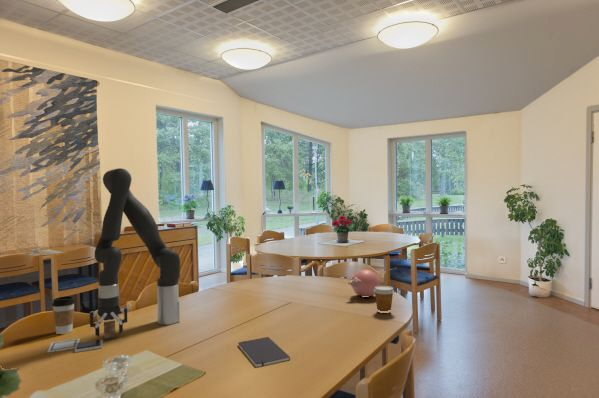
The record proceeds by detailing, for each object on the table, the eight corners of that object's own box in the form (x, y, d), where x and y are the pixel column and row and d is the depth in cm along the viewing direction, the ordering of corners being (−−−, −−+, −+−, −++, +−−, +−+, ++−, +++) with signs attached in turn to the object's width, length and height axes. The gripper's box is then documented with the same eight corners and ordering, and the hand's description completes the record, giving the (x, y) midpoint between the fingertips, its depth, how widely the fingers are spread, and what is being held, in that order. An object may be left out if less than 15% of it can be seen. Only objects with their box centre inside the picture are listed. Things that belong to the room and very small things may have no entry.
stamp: (115, 335, 161) (115, 320, 160) (115, 339, 157) (115, 323, 156) (104, 337, 159) (103, 321, 159) (103, 340, 155) (103, 325, 155)
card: (80, 339, 157) (80, 338, 157) (77, 348, 148) (77, 347, 148) (51, 343, 152) (51, 342, 152) (46, 352, 143) (46, 351, 143)
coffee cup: (49, 336, 159) (48, 301, 159) (56, 329, 168) (55, 295, 167) (72, 334, 162) (71, 299, 161) (78, 327, 170) (77, 294, 170)
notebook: (290, 361, 135) (268, 340, 155) (290, 356, 135) (268, 336, 154) (256, 368, 130) (237, 346, 149) (256, 364, 130) (237, 342, 149)
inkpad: (102, 342, 153) (102, 338, 153) (101, 348, 147) (101, 344, 147) (76, 346, 149) (76, 342, 149) (74, 352, 144) (74, 348, 144)
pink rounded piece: (339, 297, 215) (339, 269, 215) (367, 292, 225) (367, 266, 224) (356, 303, 202) (356, 274, 201) (385, 298, 211) (385, 270, 211)
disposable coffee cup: (392, 309, 192) (392, 285, 191) (395, 315, 182) (395, 290, 182) (373, 309, 193) (373, 285, 192) (375, 315, 183) (374, 290, 183)
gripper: (127, 290, 164) (128, 329, 164) (89, 294, 158) (90, 334, 158) (127, 295, 157) (128, 334, 157) (88, 299, 151) (88, 340, 151)
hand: (109, 334), depth 158 cm, fingers open, 7 cm apart
